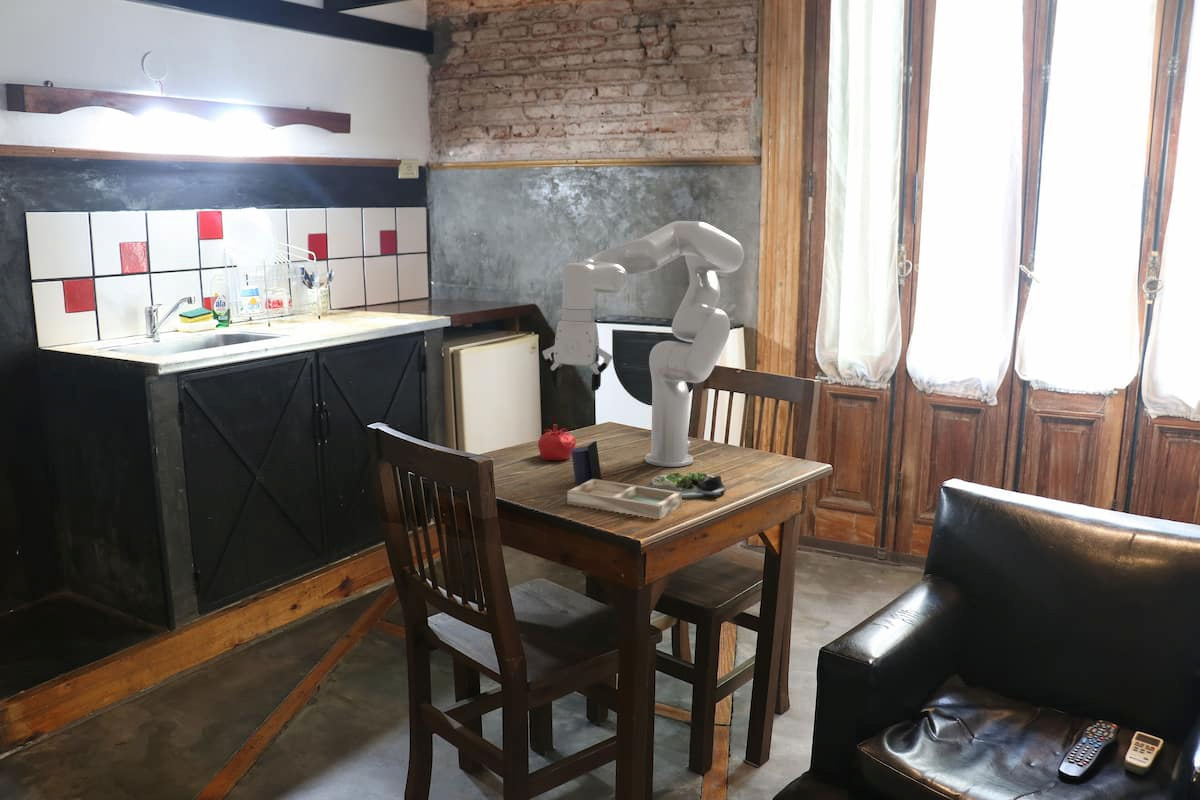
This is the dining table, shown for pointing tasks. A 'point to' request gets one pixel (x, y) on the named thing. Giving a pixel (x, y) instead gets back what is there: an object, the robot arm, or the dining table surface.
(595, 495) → the sorting tray
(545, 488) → the dining table surface
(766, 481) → the dining table surface
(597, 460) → the speaker
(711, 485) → the avocado toast plate
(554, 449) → the pomegranate
